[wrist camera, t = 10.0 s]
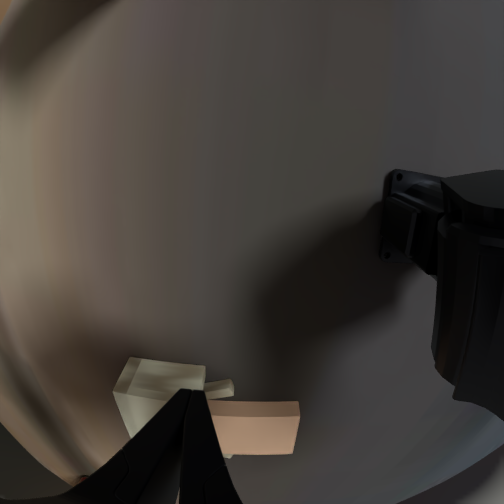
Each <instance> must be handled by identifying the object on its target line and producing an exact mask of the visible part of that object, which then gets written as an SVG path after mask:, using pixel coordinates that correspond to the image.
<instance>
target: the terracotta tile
mask: <svg viewBox="0 0 504 504" xmlns="http://www.w3.org/2000/svg"><path fill="white" fill-rule="evenodd" d="M207 402H208V405H209V409H210V413H211V416H212V420H213V423H214V427H215V430H216V434H217V437H218V440H219V444H220V447H221V450H222V453H223V454H251V455H268V454H292V453H293V448H294V444H295V439H296V435H297V430H298V425H299V420H300V410H299V403H298V401H285V402H244V401H218V400H207Z"/></svg>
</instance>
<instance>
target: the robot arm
mask: <svg viewBox="0 0 504 504" xmlns="http://www.w3.org/2000/svg"><path fill="white" fill-rule="evenodd" d="M398 173H399V174H400V179H399V180H397V179H396V176H397V174H398ZM380 234H381V236H382V240H381V245H380V251H379V257H380V258H381V259H382V260H383V261H384V262H396V263H415V264H416V265H417V266H418V267H419V268H421V269H422V270H423V271H424V272H425V273H426V274H428V275H431V276H432V277H433V278H434V279H435V280H436V281H437V291H436V306H435V317H434V327H433V335H432V343H431V349H432V353H433V357H434V360H435V368H436V370H437V371H438V372H439V374H440V375H441V376H442V377H443V378H444V379H446V380H447V381H448V382H450V383H451V384H452V385H454V386H455V389H454V393H453V396H452V398H453V399H454V400H458V401H465V402H471V403H474V404H477V405H479V406H482V407H484V408H486V409H488V410H489V411H491V412H492V413H494V414H495V415H497V416H498V417H499V418H500V419H502V420H503V421H504V170H491V171H484V172H478V173H471V174H465V175H459V176H453V177H447V178H443V177H438V176H433V175H428V174H423V173H417V172H412V171H406V170H401V169H395V170H393V171H392V172H391V176H390V185H389V193H388V197H387V198H386V199H385V205H384V212H383V219H382V225H381V231H380ZM386 252H388V255H387V256H386V257H384V254H385V253H386ZM179 487H180V493H179V504H243V503H242V501H241V500H240V498H239V496H238V494H237V492H236V490H235V488H234V485H233V483H232V480H231V478H230V475H229V472H228V469H227V466H226V463H225V460H224V457H223V454H222V450H221V447H220V444H219V440H218V437H217V434H216V430H215V427H214V423H213V420H212V416H211V413H210V409H209V405H208V402H207V398H206V394H205V391H204V390H196V389H194V390H193V391H192V390H191V389H186V388H180V389H179V390H178V391H177V392H176V393H175V394H174V395H173V396H172V397H171V398H170V399H169V400H168V402H167V403H166V404H165V405H164V406H163V407H162V408H161V409H160V410H159V411H158V412H157V413H156V414H155V415H154V416H153V417H152V418H151V419H150V420H149V421H148V422H147V423H146V424H145V425H144V426H143V427H142V428H141V429H140V430H139V431H138V432H137V433H136V434H135V435H134V436H133V437H132V438H131V439H130V440H129V441H128V442H127V443H126V444H125V445H124V446H123V447H122V449H120V450H119V451H118V452H117V453H116V454H115V455H114V456H113V457H112V458H111V459H110V460H109V461H108V462H107V463H106V464H104V465H103V466H102V467H100V468H99V469H98V470H97V471H95V472H94V473H93V474H91V475H90V476H88V477H87V478H86V479H84V480H83V481H81V482H80V483H79V484H77V485H76V486H74V487H73V488H71V489H70V490H68V491H67V492H64V493H62V494H59V495H55V496H48V497H40V498H30V499H19V500H8V499H3V498H0V504H175V503H176V499H177V495H178V491H179Z"/></svg>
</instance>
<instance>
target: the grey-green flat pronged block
mask: <svg viewBox="0 0 504 504" xmlns="http://www.w3.org/2000/svg"><path fill="white" fill-rule="evenodd" d="M205 377H206V372H205V366H202V365H191V364H181V363H172V362H164V361H156V360H149V359H142V358H135V357H129V359H128V361H127V363H126V365H125V367H124V369H123V371H122V373H121V375H120V377H119V379H118V381H117V383H116V385H115V387H114V389H113V391H112V392H113V395H114V398H115V400H116V403H117V406H118V408H119V411H120V413H121V416H122V418H123V421H124V423H125V426H126V428H127V431H128V433H129V435H130V437H131V438H132V437H133V436H134V435H135V434H136V433H137V432H138V431H139V430H140V429H141V428H142V427H143V426H144V425H145V424H146V423H147V422H148V421H149V420H150V419H151V418H152V417H153V416H154V415H155V414H156V413H157V412H158V411H159V410H160V409H161V408H162V407H163V406H164V405H165V404H166V403H167V402H168V400H169V399H170V398H171V397H172V396H173V395H174V394H175V393H176V392H177V391H178V390H179V389H180V388H186V389H191V390H192V391H193V390H194V389H196V390H204V391H205V394H206V398H207V400H209V399H216V398H223V397H229V396H234V384H233V382H232V380H231V379H225V380H220V381H214V382H208V383H204V382H205ZM222 454H223V453H222ZM232 456H233V454H223V457H226V458H231V457H232Z"/></svg>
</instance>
